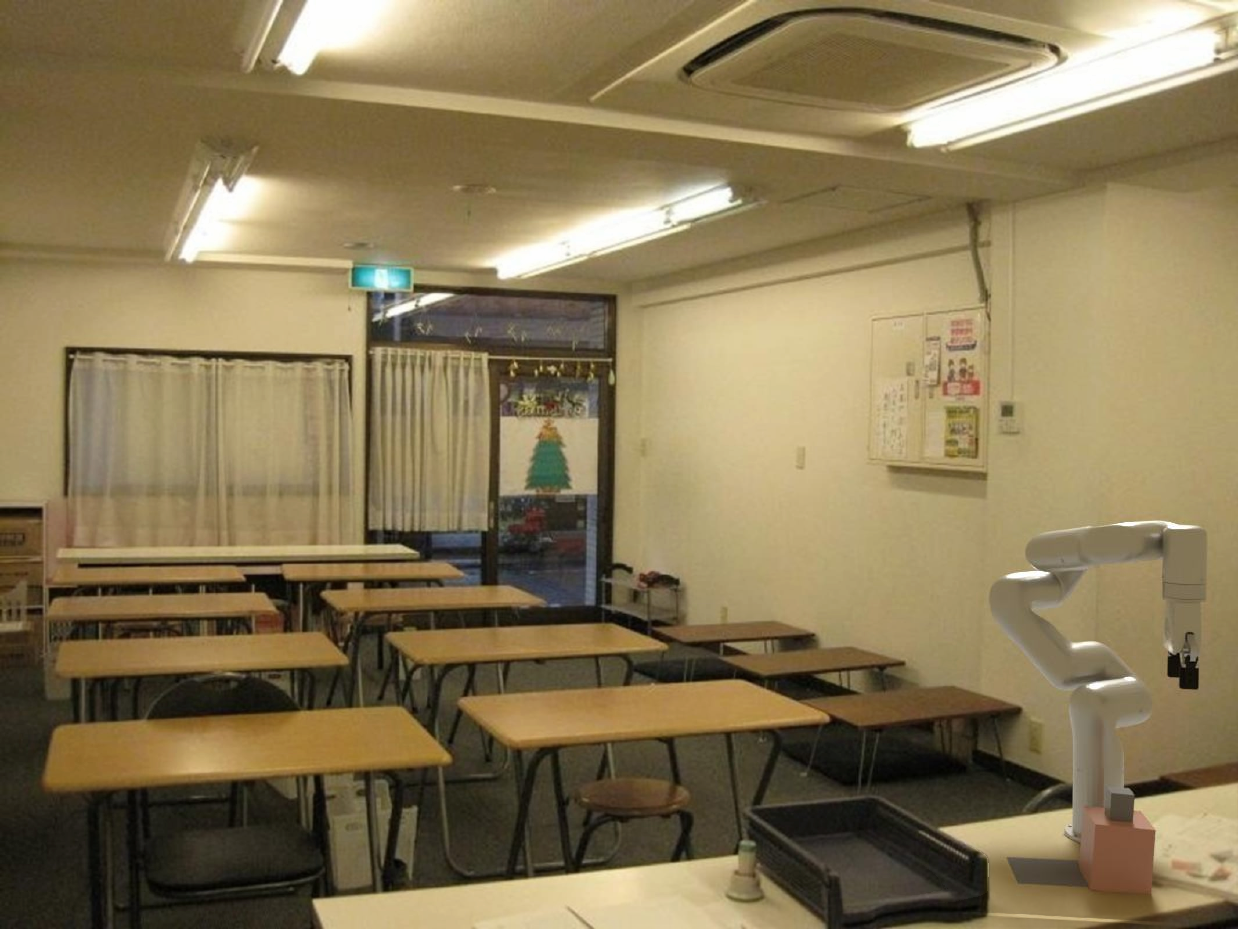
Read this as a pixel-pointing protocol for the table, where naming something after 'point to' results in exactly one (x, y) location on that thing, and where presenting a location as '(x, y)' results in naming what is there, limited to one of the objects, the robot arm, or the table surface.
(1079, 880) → the mat
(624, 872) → the table surface
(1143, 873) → the cover
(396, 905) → the table surface
